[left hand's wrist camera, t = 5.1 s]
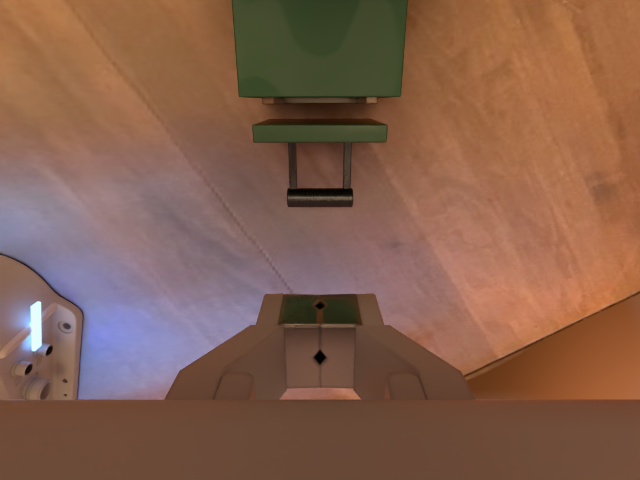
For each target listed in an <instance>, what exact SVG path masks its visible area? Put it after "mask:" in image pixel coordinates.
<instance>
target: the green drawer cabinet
mask: <svg viewBox="0 0 640 480" xmlns="http://www.w3.org/2000/svg"><path fill="white" fill-rule="evenodd" d="M407 2H408V0H232V9H233V23H234V36H235V50H236V64H237V77H238V91H239V97H248V98H262V97H378V98H387V97H400V96H401V87H402V73H403V59H404V44H405V30H406V16H407Z"/></svg>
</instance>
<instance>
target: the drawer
mask: <svg viewBox="0 0 640 480" xmlns="http://www.w3.org/2000/svg"><path fill="white" fill-rule="evenodd" d="M377 100H378V97H262V103H263V104H282V103H360V104H377ZM252 128H253V142H255V143H288V149H289V182H290V188H288V190H287V205H288V207H352V205H353V189H352V188H350V183H351V147H352V142H386V141H387V125H386V124H383V123H380V122H378V121H375V120H372V119H268V120H266V121H263V122H260V123H257V124H254V125H253V126H252ZM296 142H344V158H343V188H297V159H296Z"/></svg>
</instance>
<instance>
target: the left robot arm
mask: <svg viewBox="0 0 640 480" xmlns="http://www.w3.org/2000/svg"><path fill="white" fill-rule="evenodd" d="M82 321H83V315H82V312H81V311H80V309H79V308H78V307H76V306H75V305H73V304H72V303H70V302H69V301H67V300H65V299H63V298H62V297H60V296H58V295H57V294H56V293H55V292H54V291H53V290H52V289H51V288H50V287H49V286H48V285H47V284H46V283H45V281H44V280H43V279H42V278H41V277H39V276H38V275H37V274H36V273H35V272H33V271H32V270H31V269H29V268H28V267H26V266H25V265H23V264H21V263H19V262H18V261H15V260H13V259H11V258H9V257H6V256H3V255H0V480H640V400H476V399H475V398H474V396H473V394H472V392H471V390H470V388H469V386H468V384H467V382H466V380H465V378H464V376H463V375H462V373H461V371H459V370H458V369H456V368H455V367H453V366H452V365H450V364H448V363H447V362H445V361H444V360H442V359H441V358H439V357H438V356H436V355H435V354H433V353H431V352H430V351H428V350H427V349H425V348H424V347H422V346H421V345H419V344H418V343H416V342H414V341H413V340H411V339H410V338H408V337H407V336H405V335H404V334H402V333H401V332H399V331H397V330H396V329H394V328H393V327H391V326H390V325H384V323H383V319H382V316H381V312H380V309H379V306H378V302H377V299H376V295H375V294H334V295H306V294H266V295H265V296H264V298H263V302H262V305H261V309H260V312H259V316H258V319H257V323H256V325H250V326H249V327H247V328H246V329H244V330H243V331H241V332H239V333H238V334H236V335H235V336H233V337H232V338H230V339H229V340H227V341H225V342H224V343H222V344H221V345H219V346H218V347H216V348H215V349H213V350H211V351H210V352H208V353H207V354H205V355H204V356H202V357H201V358H199V359H198V360H196V361H194V362H193V363H191V364H190V365H188V366H187V367H185V368H184V369H182V370H180V371H179V373H178V375H177V377H176V379H175V381H174V382H173V384H172V386H171V388H170V390H169V392H168V394H167V396H166V398H165V399H164V400H77V391H78V377H79V363H80V349H81V335H82ZM68 324H70V325H68ZM318 387H321V388H354V391H355V392H356V393H357V395H358V396H359V397H360V398H361V399H362V400H279V399H280V397H281V396H282V395H283V394H284V393H285V391H286V388H318Z"/></svg>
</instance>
